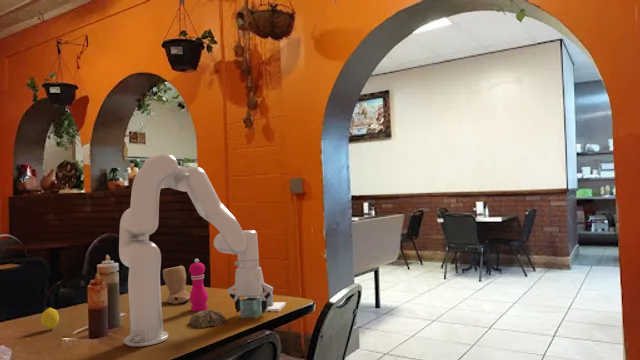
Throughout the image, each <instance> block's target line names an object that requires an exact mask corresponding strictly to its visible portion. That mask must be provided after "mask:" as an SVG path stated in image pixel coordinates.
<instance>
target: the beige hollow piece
mask: <svg viewBox="0 0 640 360" xmlns="http://www.w3.org/2000/svg"><path fill="white" fill-rule="evenodd" d="M162 277H163V281H164V282H165V285H166V288H167V290H168V292H169V293H168V294H169V296H168V297H167V298H166V300H165V302H167V303H169V304H173V305H179V304H182V303H184V302H186V301H189V297H190V293H191V291H190V292H189V291H187V290H186V284H187V273H186V268H185V266H183V265H179V266H175V267H170V268H165V269H163V270H162Z"/></svg>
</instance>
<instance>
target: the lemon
mask: <svg viewBox="0 0 640 360" xmlns="http://www.w3.org/2000/svg"><path fill="white" fill-rule="evenodd" d="M40 319H41V321H40V322H41V325H42V326H43V328H45V329H47V330H49V329H50V328H53V329H54V328H55V327H56V326H57V325H58V324H59V320H60V316H59V312H58V311H57V310H56V309H55V308H52V307H48V308H47V309H45V310H44V311H43V312H42V314H41V317H40Z"/></svg>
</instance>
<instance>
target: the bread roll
mask: <svg viewBox="0 0 640 360" xmlns="http://www.w3.org/2000/svg"><path fill="white" fill-rule="evenodd" d="M226 322H227V319H226V317H225V316H224V315H223V314H222V313H221V312H220V311H218V310H216V311H215V310H213V309H206V310H203V311H197V312H196V313H194V314H192V316H191V317H190V318H189V325H190V326H192V327H195V328H198V329H204V328H207V327H219V326H222V325H223V324H225V323H226Z"/></svg>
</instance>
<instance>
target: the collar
mask: <svg viewBox="0 0 640 360" xmlns="http://www.w3.org/2000/svg"><path fill="white" fill-rule="evenodd" d="M240 300H241V301H240V309H241V311H240V318H242V319H243V318H244V319H247V318H250V319H252V318H258V317H260V316H261V315H262V313H263V312H262V306H261V301H262V299H261V297H260V296H252V297H244V298H243V299H240Z"/></svg>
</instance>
